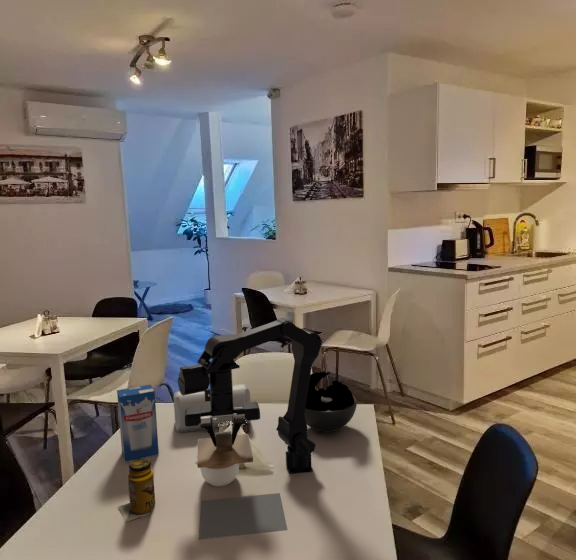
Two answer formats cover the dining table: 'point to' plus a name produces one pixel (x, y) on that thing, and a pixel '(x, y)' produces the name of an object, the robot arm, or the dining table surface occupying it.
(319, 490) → the dining table surface
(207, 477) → the lidded jar
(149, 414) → the milk carton
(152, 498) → the condiment
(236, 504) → the mat
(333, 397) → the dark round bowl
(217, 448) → the lid
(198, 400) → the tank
